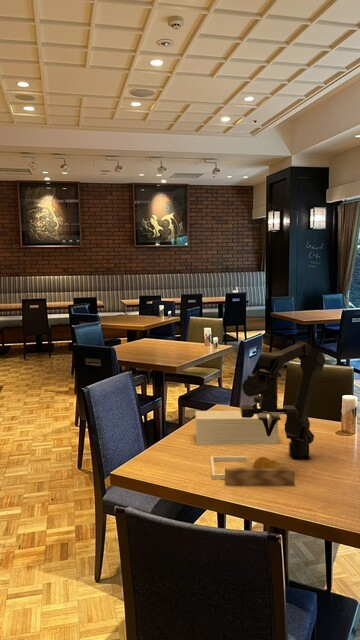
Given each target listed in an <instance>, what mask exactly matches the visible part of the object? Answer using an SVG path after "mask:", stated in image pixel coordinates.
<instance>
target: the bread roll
mask: <svg viewBox="0 0 360 640" xmlns="http://www.w3.org/2000/svg"><path fill="white" fill-rule="evenodd" d="M252 466H253V467H252V468H280V464H279V463H278V461H276V460H273V459H272V460H271V459H270V458H268V457H266V456H261V457H258V458H256V459H255V460H254V461H253V463H252Z"/></svg>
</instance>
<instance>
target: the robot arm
mask: <svg viewBox="0 0 360 640" xmlns="http://www.w3.org/2000/svg"><path fill="white" fill-rule="evenodd" d="M296 359H298V360H299V362H300V364H299V367H300V369H301V373H302V374H301V379H300V384H299V387H298V391H297V397H296V400H295V404H294V405H293V404H291V405H289V404H287V405H285V404H284V405H283V407H282V408H278V395H279V393H278V391H279V390H278V389H279V388H278V384H279V380H278V379H279V378H281V377H282V376H283V375H282V374H281V373H280V371H281V370H282V369H284V366H285V365H286V364H287V363H289V362H292V361H294V360H296ZM325 365H326V357H325V356H324V354H323V352H321V351H319V350H317V348H316V349H315V347H313V346H312V345H310V344H309V343H306V342H300V341H299V342H295V343H294V344H292V345H290V346H288V347H286V348H284V349H281V350H278V351H276V352H265V353H261V354H259V356H258V358H257V361H256V362H255V364H254V367H253V369H252V371H251V374H249V375H247V376H246V377H247V378H246V379H245V380H244V381H243V383H242V385H241V386H242V391H243V393H244V394H245V395H246V396H247V397H250V398H251V397H253V403H254V404H258V407H259V408H258V407H257V408H256V407H255V408H254V407H253V405H252V404H251V405H249V404H248V405H247V404H246V405H245V404H244V405H243V404H242V405H241V406H240V410H239V411H240V413H241V416H242V417H243V418H252V417H253V416H254V414H257V416H258V419H259V420H262V421H263V424H264V427H265V430H266V434H267V436H270V435H271V432H272V430H273V428H274V426H275V424H276V423H277V421H278V422H279V421H281V415H286V418H285V423H284V424H283V425H284V433H285V436H286V439H289V440H290V442H288V454H289V456H290V458H291V459H293V460H310V459H311V457H310V445H311V444H312V443H313V442H314V440H315V439H314V438H315V435H314V433H313V432H312V431H311V429H310V428H311V427H310V426H311V423H310V422H311V421H310V420H309V416H308V414H309V410H310V405H311V400H312V397H313V393H314V388H315V383H316V379H317V377H318V375H319V374H321V372H322V371H323V368H324V366H325ZM267 414H269V418H270V419H269V428H268V418H267V416H266V415H267Z"/></svg>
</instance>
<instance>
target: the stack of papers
mask: <svg viewBox="0 0 360 640" xmlns="http://www.w3.org/2000/svg"><path fill="white" fill-rule="evenodd" d="M266 416H267V418H268V428H269V419H270V418H269V414H267V415H266ZM278 437H279V420H278V421H277V423H276V424H275V426H274V428H273V430H272V432H271V435H270V436H267V434H266V430H265V427H264V424H263V421H262V420H259V419H258V416H257V414H254V416H253V417H252V418H243V417H242V416H241V413H240V410H195V442H196V443H195V444H196V446H215V445H216V446H223V445H224V446H226V445H227V446H228V445H229V446H230V445H231V446H235V445H237V446H238V445H243V446H244V445H249V446H250V445H278V444H279V442H278V441H279V438H278Z"/></svg>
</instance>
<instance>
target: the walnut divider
mask: <svg viewBox="0 0 360 640" xmlns="http://www.w3.org/2000/svg"><path fill="white" fill-rule="evenodd" d="M224 474H225V479H224V485H225V486H282V487H283V486H290V487H291V486H294V487H295V479H296V478H295V475H296V471H295V468H291V467H289V468H287V467H285V468H284V467H283V468H254V467H250V468H249V467H248V468H247V467H242V468H241V467H237V468H236V467H224Z"/></svg>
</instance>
